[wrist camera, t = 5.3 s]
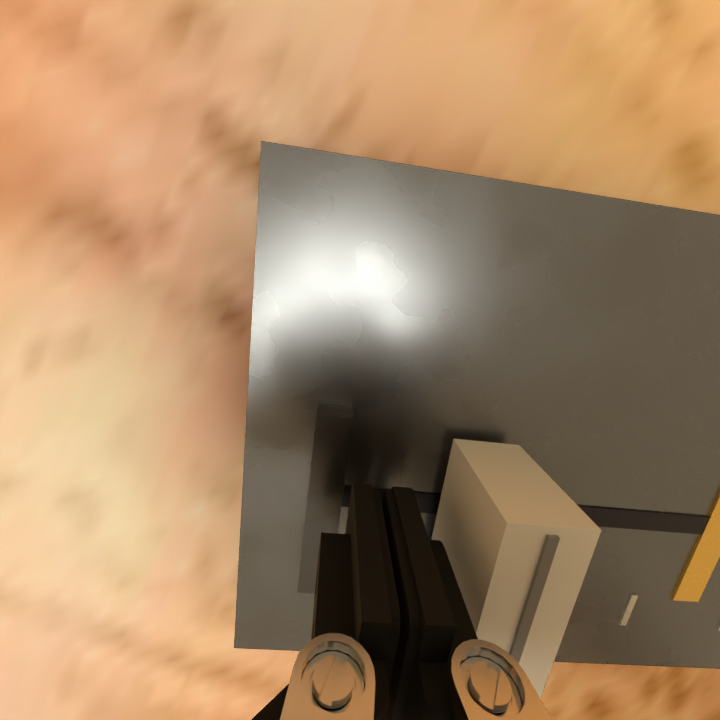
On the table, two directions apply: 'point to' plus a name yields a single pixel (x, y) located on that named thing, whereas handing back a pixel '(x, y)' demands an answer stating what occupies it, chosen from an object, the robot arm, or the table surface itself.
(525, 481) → the fader
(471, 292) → the console
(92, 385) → the table surface
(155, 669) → the table surface
